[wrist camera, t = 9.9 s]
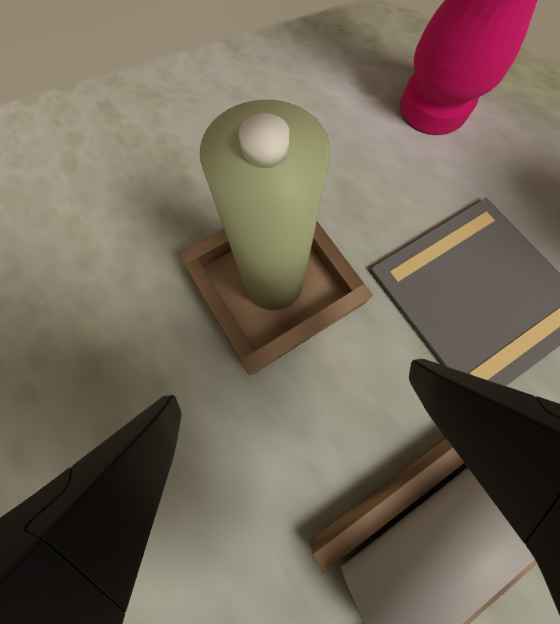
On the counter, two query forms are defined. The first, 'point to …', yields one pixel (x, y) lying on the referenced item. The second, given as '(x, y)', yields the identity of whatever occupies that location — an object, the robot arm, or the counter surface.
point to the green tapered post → (267, 192)
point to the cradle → (392, 511)
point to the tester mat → (477, 294)
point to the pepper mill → (462, 60)
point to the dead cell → (437, 559)
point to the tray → (274, 323)
